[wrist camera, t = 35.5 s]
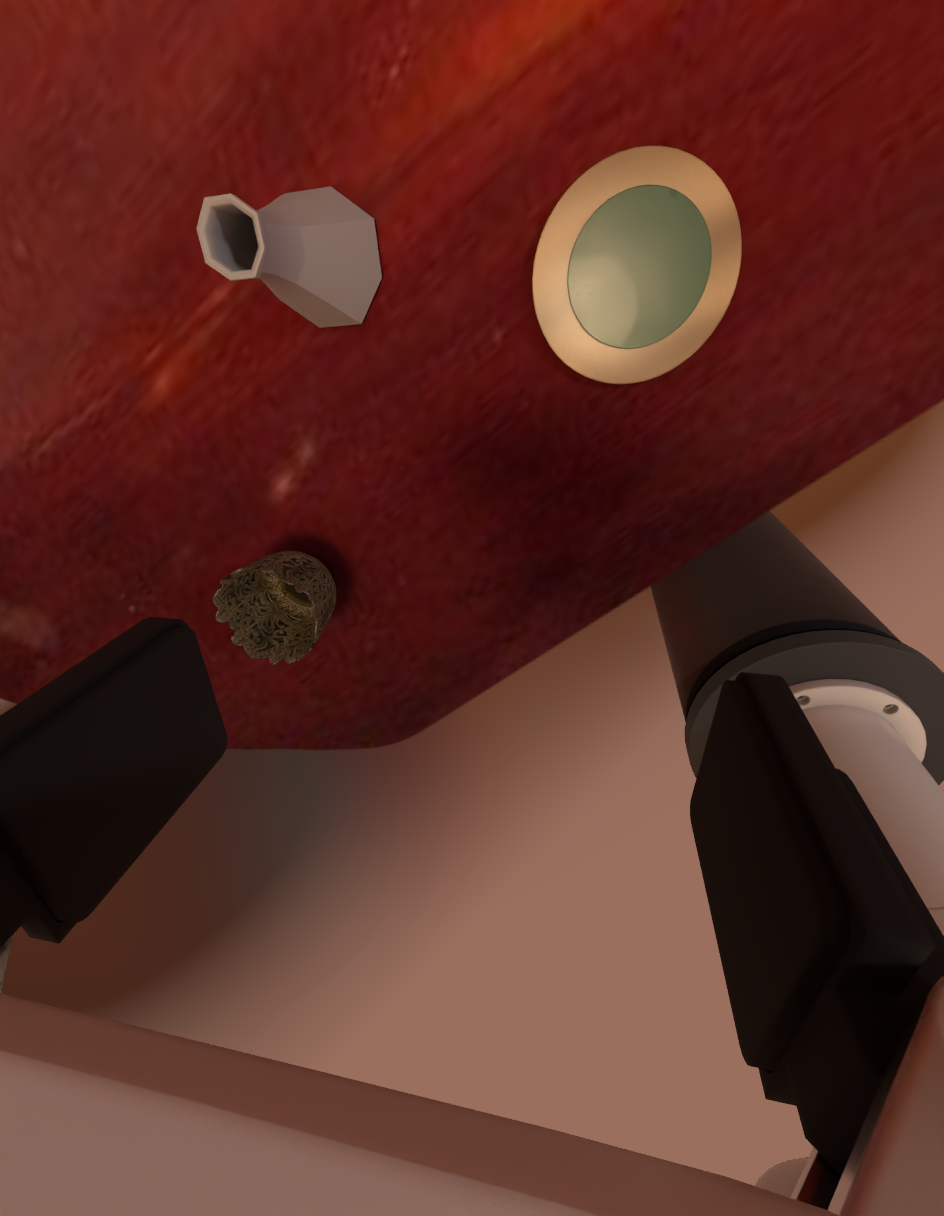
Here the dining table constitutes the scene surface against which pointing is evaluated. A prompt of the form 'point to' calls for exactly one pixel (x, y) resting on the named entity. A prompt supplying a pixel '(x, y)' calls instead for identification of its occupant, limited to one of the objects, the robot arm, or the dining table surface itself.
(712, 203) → the coaster
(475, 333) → the dining table surface
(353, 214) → the flask
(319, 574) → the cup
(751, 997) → the robot arm
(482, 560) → the dining table surface
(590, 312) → the jar lid
